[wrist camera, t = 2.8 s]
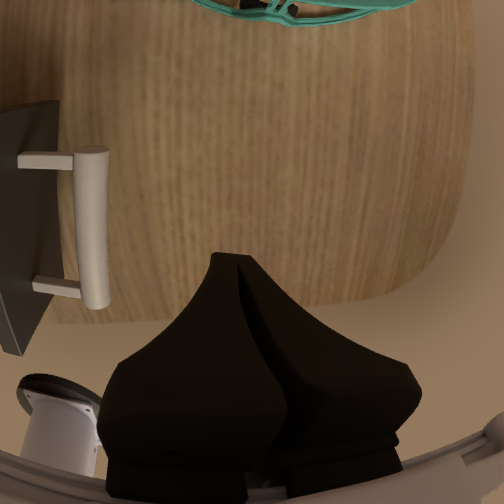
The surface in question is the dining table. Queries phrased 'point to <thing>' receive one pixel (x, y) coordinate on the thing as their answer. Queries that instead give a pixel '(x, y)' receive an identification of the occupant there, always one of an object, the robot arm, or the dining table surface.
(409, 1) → the sunglasses
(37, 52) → the dining table surface
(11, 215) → the drawer
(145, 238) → the dining table surface
